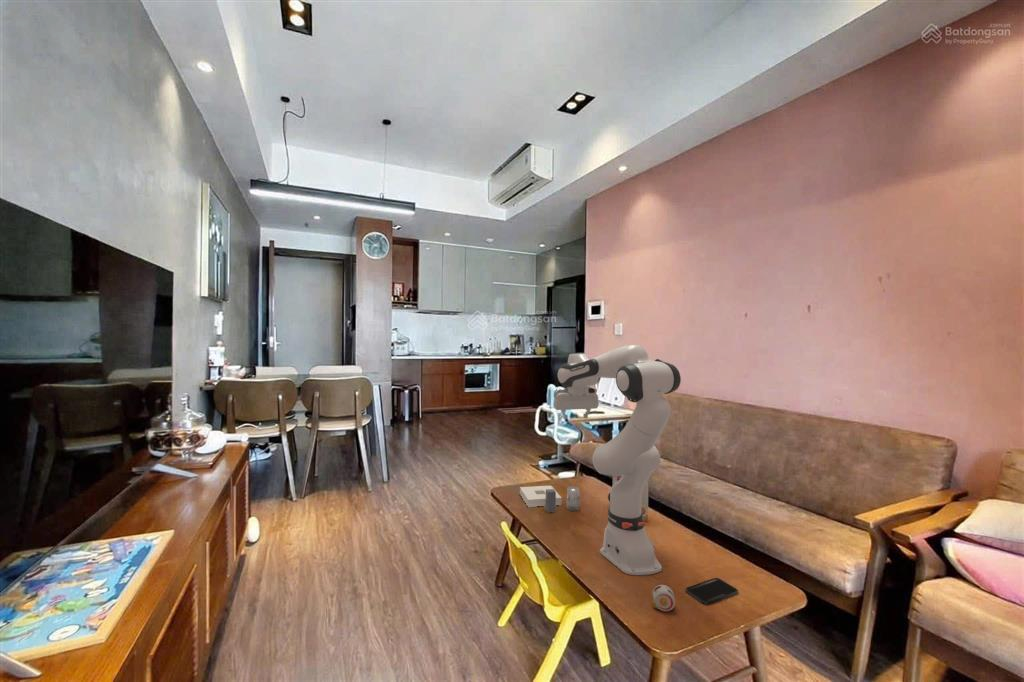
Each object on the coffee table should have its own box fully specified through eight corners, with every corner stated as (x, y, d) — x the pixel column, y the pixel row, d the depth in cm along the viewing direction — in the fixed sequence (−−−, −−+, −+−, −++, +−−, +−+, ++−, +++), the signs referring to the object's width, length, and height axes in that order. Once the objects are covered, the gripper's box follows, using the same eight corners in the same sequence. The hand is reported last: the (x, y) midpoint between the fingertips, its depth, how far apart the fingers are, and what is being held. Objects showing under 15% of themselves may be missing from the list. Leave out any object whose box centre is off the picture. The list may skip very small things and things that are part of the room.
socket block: (561, 505, 188) (561, 497, 188) (527, 507, 184) (528, 499, 184) (550, 492, 203) (551, 485, 203) (519, 494, 200) (519, 487, 200)
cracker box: (642, 516, 178) (643, 468, 178) (648, 522, 172) (649, 472, 172) (611, 517, 176) (612, 468, 176) (616, 523, 170) (617, 473, 170)
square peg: (555, 512, 180) (555, 491, 180) (547, 512, 179) (548, 492, 179) (552, 509, 183) (553, 489, 183) (545, 509, 182) (545, 489, 183)
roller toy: (676, 615, 113) (677, 594, 113) (652, 611, 115) (653, 590, 115) (674, 605, 118) (674, 585, 118) (650, 601, 119) (651, 581, 119)
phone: (683, 588, 124) (717, 577, 131) (683, 592, 124) (717, 580, 131) (706, 603, 117) (740, 590, 124) (705, 607, 117) (740, 594, 124)
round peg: (580, 510, 182) (581, 490, 182) (569, 511, 181) (569, 491, 181) (576, 505, 188) (576, 486, 188) (564, 506, 187) (565, 486, 187)
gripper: (556, 390, 176) (555, 421, 178) (600, 389, 180) (599, 419, 181) (552, 387, 182) (551, 417, 184) (595, 386, 186) (594, 415, 188)
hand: (575, 418), depth 183 cm, fingers open, 8 cm apart
